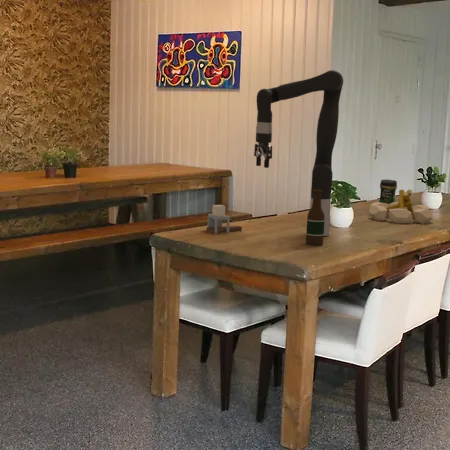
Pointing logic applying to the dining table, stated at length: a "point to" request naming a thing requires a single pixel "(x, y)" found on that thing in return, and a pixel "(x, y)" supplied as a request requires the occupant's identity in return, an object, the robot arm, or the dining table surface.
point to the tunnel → (218, 222)
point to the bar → (224, 229)
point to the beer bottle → (315, 221)
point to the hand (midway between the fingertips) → (262, 166)
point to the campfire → (401, 210)
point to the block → (218, 210)
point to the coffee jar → (388, 191)
